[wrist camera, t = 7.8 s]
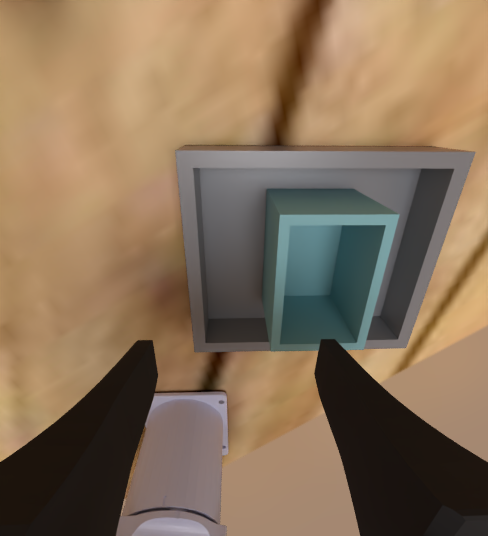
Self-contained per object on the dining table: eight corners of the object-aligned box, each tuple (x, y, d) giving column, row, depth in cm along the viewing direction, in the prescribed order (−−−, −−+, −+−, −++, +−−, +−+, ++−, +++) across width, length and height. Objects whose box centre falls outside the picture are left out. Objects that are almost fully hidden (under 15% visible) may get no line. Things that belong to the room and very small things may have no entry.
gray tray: (382, 317, 23) (406, 348, 20) (199, 320, 23) (194, 352, 20) (432, 146, 17) (475, 151, 14) (185, 144, 17) (175, 150, 14)
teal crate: (333, 297, 21) (363, 349, 16) (261, 298, 21) (270, 351, 16) (353, 188, 18) (399, 214, 13) (266, 188, 17) (279, 214, 13)
